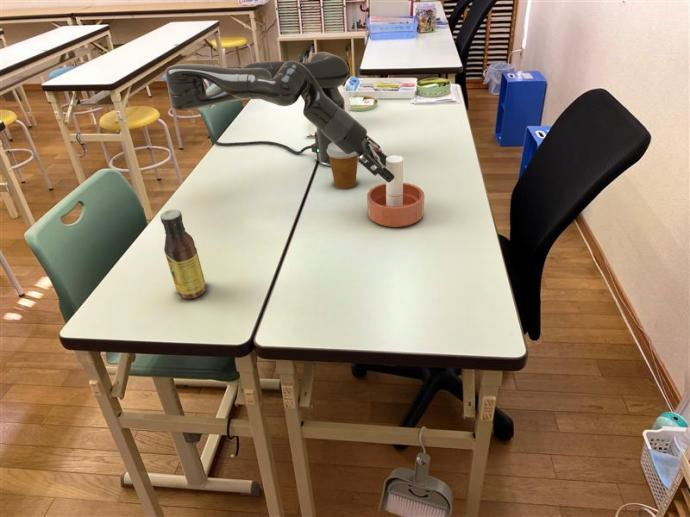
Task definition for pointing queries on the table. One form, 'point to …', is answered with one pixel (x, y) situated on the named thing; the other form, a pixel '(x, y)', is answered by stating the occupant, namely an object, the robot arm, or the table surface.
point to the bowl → (395, 215)
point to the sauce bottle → (182, 256)
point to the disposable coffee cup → (343, 166)
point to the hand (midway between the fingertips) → (391, 172)
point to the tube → (395, 182)
